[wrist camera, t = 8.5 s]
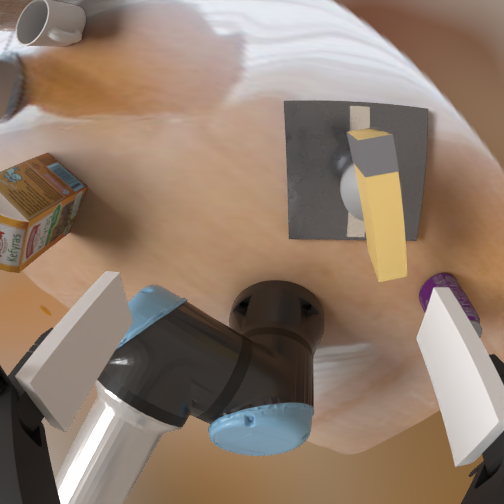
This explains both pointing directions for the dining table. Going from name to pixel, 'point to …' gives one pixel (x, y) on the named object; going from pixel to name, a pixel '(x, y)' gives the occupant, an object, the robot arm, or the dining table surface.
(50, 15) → the grey cup
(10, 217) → the milk carton
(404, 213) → the post base
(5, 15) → the planter
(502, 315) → the dining table surface
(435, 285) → the beverage can
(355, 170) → the handle
